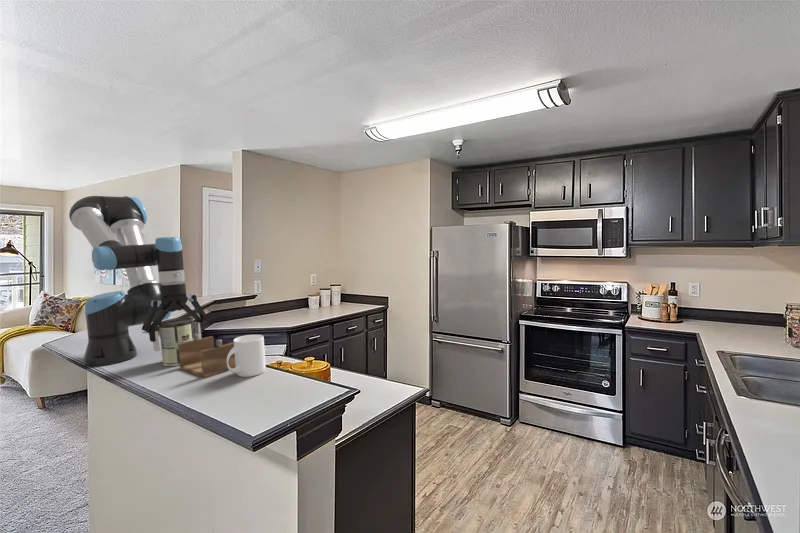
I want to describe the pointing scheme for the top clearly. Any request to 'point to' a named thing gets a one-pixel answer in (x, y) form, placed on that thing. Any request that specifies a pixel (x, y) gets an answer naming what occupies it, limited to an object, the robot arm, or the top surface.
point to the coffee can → (174, 338)
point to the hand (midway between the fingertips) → (178, 345)
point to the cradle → (205, 356)
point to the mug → (248, 355)
